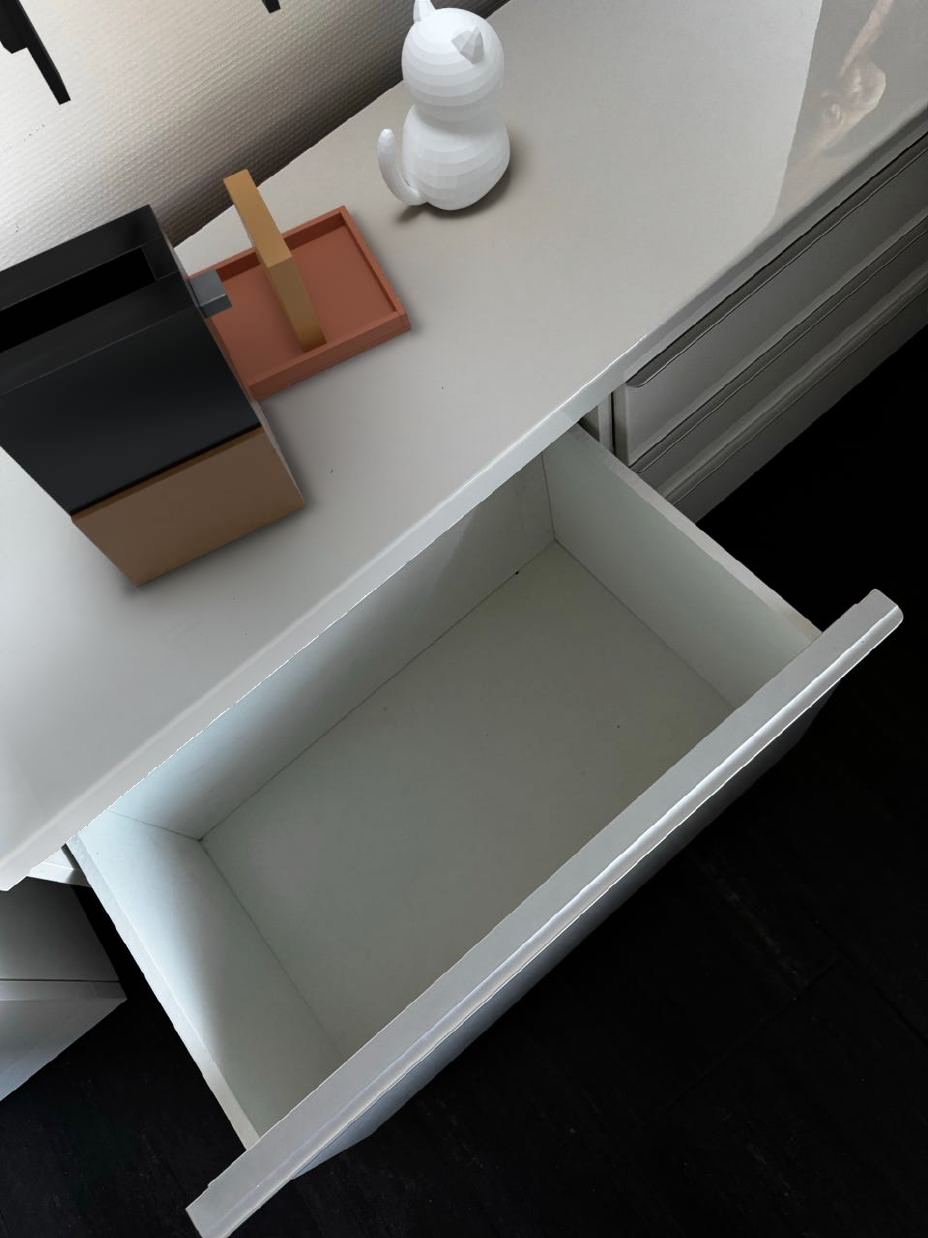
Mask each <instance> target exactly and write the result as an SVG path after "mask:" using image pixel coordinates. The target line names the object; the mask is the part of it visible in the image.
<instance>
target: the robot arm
mask: <svg viewBox="0 0 928 1238" xmlns="http://www.w3.org/2000/svg"><path fill="white" fill-rule="evenodd" d="M261 2H262V4H263V5H264V7H265V9H266V10H267V12H268V14H270V15H271V14H273V13H276V12H277V11H279V10H282V8H281V4H280V1H279V0H261ZM0 43H1V45H2V47H3V48H4V49H5V50H6V51H7V52H8V53H10V54H11V55H13V54H16V53H19V52H21V51H23V50H25V49H27V51H28V53H29V55H30V56H31V58H32V59H33V62H34V63H35V66H36V67H37V68H38V70H39V72H40V74H41V76H42V77H43V79H44V81H45V82H46V84H47V86H48V88H49V89H50V91H51V93H52V95H53V97H54V99H55V100H56V102H57V104H58V105H59V106H61V105H64V104H66V103H68V102H71V101H72V99H71V95H70V94H69V92H68V90H67V87H66V85H65V83H64V80H63V78H62V76H61V73H60V72H59V70H58V68H57V66H56V64H55V63H54V60H53V59H52V57H51V55H50V54H49V51H48V50H47V48H46V46H45V44H44V43H43V40H42V39H41V37H40V35H39V33H38V32H37V30H36V28H35V26H34V24H33V23H32V21H31V19H30V17H29V15H28V13H27V11H26V10H25V7H23V4H22V2H21V1H20V0H0Z"/></svg>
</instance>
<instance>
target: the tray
mask: <svg viewBox="0 0 928 1238" xmlns="http://www.w3.org/2000/svg"><path fill="white" fill-rule="evenodd" d="M281 235H282V237H283V239H284V241H285V243H286V245H287V247H288V249H289V251H290V252H291V254H292V256H293V259H294V261H295V264H296V266H297V269H298V271H299V274H300V276H301V279H302V281H303V284H304V286H305V289H306V291H307V294H308V296H309V299H310V301H311V304H312V306H313V309H314V311H315V313H316V316H317V318H318V321H319V323H320V326H321V328H322V331H323V333H324V336H325V338H326V341H327V343H326V344H324V345H322V346H320V347H318V348H316V349H314V350H312V351H309V352H307V353H304V351H303V349H302V347H301V345H300V343H299V341H298V339H297V337H296V335H295V333H294V331H293V329H292V327H291V325H290V323H289V321H288V319H287V317H286V315H285V313H284V311H283V309H282V307H281V305H280V303H279V301H278V299H277V297H276V295H275V293H274V291H273V289H272V287H271V285H270V283H269V281H268V279H267V277H266V275H265V273H264V271H263V269H262V266H261V264H260V262H259V260H258V258H257V255H256V253H255V251H254V249H253V246H251V247H249V248H247V249H244V250H243V251H241V252H238V253H236V254H234V255H232V256H230V257H227V258H225V259H223V260H220V261H219V262H217V263H215V264H212V265H210V266H208V267H206V268H204V269H201V270H199V271H196V272H195V273H193V274H191V275H188V276H189V278H190V279H191V278H193V277H195V276H197V275H200V274H202V273H204V272H206V271H208V270H211V269H213V268H215V270H216V272H217V274H218V276H219V278H220V280H221V282H222V284H223V286H224V288H225V290H226V292H227V294H228V296H229V298H230V300H231V303H232V305H233V307H231V308H229V309H227V310H225V311H223V312H220V313H218V314H216V315H214V316H212V317H211V318H212V320H213V322H214V324H215V326H216V328H217V329H218V330H219V332H220V334H221V336H222V338H223V340H224V341H225V343H226V345H227V347H228V349H229V351H230V352H231V354H232V356H233V358H234V360H235V362H236V364H237V365H238V367H239V369H240V371H241V373H242V375H243V376H244V378H245V380H246V382H247V384H248V386H249V387H250V389H251V391H252V393H253V395H254V397H255V398H256V400H257V402H259V401H260V400H263V399H266V398H267V397H270V396H272V395H274V394H276V393H278V392H281V391H283V390H284V389H287V388H289V387H291V386H294V385H296V384H297V383H299V382H302V381H303V380H306V379H308V378H310V377H312V376H314V375H316V374H319V373H321V372H323V371H325V370H327V369H330V368H332V367H334V366H335V365H339V364H340V363H342V362H345V361H346V360H348V359H350V358H353V357H355V356H357V355H360V354H361V353H364V352H365V351H368V350H371V349H373V348H374V347H376V346H378V345H380V344H382V343H386V342H387V341H389V340H391V339H393V338H395V337H398V336H399V335H401V334H404V333H406V332H408V331H411V330H412V327H411V324H410V323H411V322H410V319H409V317H408V313H407V310H406V309H405V307H404V305H403V304H402V302H401V300H400V299H399V296H398V295H397V293H396V292H395V290H394V288H393V287H392V285H391V283H390V281H389V280H388V278H387V276H386V274H385V273H384V271H383V269H382V268H381V266H380V263H378V260H377V259H376V257H375V256H374V254H373V252H372V251H371V249H370V246H369V245H368V243H367V242H366V240H365V238H364V236H363V235H362V233H361V231H360V230H359V228H358V226H357V224H356V223H355V221H354V219H353V218H352V215H351V214H350V212H349V211H348V209H347V208H346V206H345V205H344V204H342V205H341V206H339V207H335V208H334V209H332V210H330V211H327V212H326V213H323V214H321V215H319V216H317V217H315V218H312V219H310V220H308V221H305V222H304V223H301V224H299V225H297V226H295V227H292V228H290V229H288V230H287V231H284V232H282V233H281Z"/></svg>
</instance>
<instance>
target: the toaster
mask: <svg viewBox="0 0 928 1238" xmlns="http://www.w3.org/2000/svg"><path fill="white" fill-rule="evenodd" d="M189 276H190V275H189V274H188V272H187V270H186V269H185V267H184V265H183V263H182V261H181V260H180V258H179V255H178V254H177V252H176V250H175V249H174V247H173V245H172V243H171V241H170V240H169V237H168V236H167V234H166V232H165V230H164V228H163V226H162V225H161V223H160V221H159V219H158V217H157V215H156V213H155V211H154V210H153V208H152V207H151V204H149V203H147V204H145V205H143V206H140V207H138V208H136V209H134V210H132V211H129V212H128V213H125V214H123V215H121V216H119V217H116V218H114V219H112V220H110V221H107V222H105V223H103V224H101V225H99V226H96V227H94V228H92V229H90V230H88V231H86V232H83V233H81V234H78V235H77V236H74V237H72V238H70V239H68V240H66V241H64V242H61V243H59V244H57V245H55V246H52V247H50V248H48V249H46V250H44V251H41V252H39V253H37V254H35V255H33V256H30V257H28V258H27V259H24V260H22V261H20V262H18V263H15V264H13V265H11V266H9V267H6V268H4V269H2V270H0V448H1V449H2V450H3V451H4V452H5V453H7V455H8V456H9V457H10V458H11V459H12V460H13V461H14V462H15V463H16V464H17V465H18V466H19V467H20V468H21V469H22V470H23V471H24V472H25V473H26V474H27V475H28V476H29V477H30V478H31V479H32V480H33V481H34V482H35V483H36V484H37V485H38V486H39V487H40V488H41V489H42V490H43V491H44V492H45V493H46V494H47V495H48V496H49V497H50V498H51V499H52V500H53V501H54V502H55V503H56V504H57V505H58V506H59V507H60V508H61V509H62V510H63V511H64V512H65V513H66V514H67V515H68V516H69V517H70V520H71V523H72V524H73V525H74V526H75V527H76V528H77V529H78V530H79V531H80V532H81V533H82V534H83V536H85V537H86V538H87V539H88V540H89V541H90V542H91V543H92V544H93V545H94V546H95V547H96V548H98V550H99V551H100V552H101V553H102V554H103V555H104V556H105V557H106V558H107V559H108V560H109V561H110V562H111V563H112V564H113V565H114V566H115V567H116V568H117V569H118V570H119V571H120V572H121V573H122V574H123V575H124V576H125V577H126V578H127V579H128V580H129V581H130V582H131V583H132V584H134V586H135V587H139V586H141V585H143V584H146V583H148V582H149V581H152V580H153V579H156V578H157V577H160V576H162V575H164V574H166V573H168V572H170V571H172V570H175V569H176V568H179V567H181V566H183V565H185V564H187V563H189V562H191V561H194V560H196V559H197V558H199V557H201V556H204V555H206V554H208V553H210V552H212V551H214V550H217V549H219V548H220V547H223V546H225V545H227V544H228V543H231V542H233V541H235V540H238V539H239V538H241V537H244V536H245V535H248V534H250V533H252V532H254V531H257V530H258V529H261V528H262V527H265V526H266V525H268V524H271V523H273V522H275V521H277V520H279V519H282V518H283V517H285V516H288V515H290V514H291V513H294V512H296V511H298V510H301V509H302V508H304V507H306V506H307V504H306V502H305V499H304V497H303V495H302V493H301V490H300V489H299V487H298V484H297V483H296V480H295V478H294V476H293V474H292V472H291V469H290V468H289V467H290V466H289V465H288V463H287V461H286V459H285V457H284V454H283V452H282V450H281V448H280V445H279V444H278V442H277V439H276V438H275V435H274V432H273V431H272V429H271V427H270V424H269V422H268V420H267V418H266V416H265V414H264V412H263V410H262V408H261V406H260V404H259V401H257V400H256V398H255V397H254V395H253V393H252V391H251V389H250V387H249V386H248V384H247V382H246V380H245V378H244V376H243V375H242V373H241V371H240V369H239V367H238V365H237V364H236V362H235V360H234V358H233V356H232V354H231V352H230V351H229V349H228V347H227V345H226V343H225V341H224V340H223V338H222V336H221V334H220V332H219V330H218V329H217V328H216V326H215V324H214V322H213V320H212V318H211V317H212V316H214V315H216V314H218V313H220V312H223V311H225V310H227V309H229V308H231V307H233V305H232V303H231V300H230V298H229V296H228V294H227V292H226V290H225V288H224V286H223V284H222V282H221V280H220V278H219V276H218V274H217V272H216V270H215V268H213V269H211V270H208V271H206V272H204V273H202V274H200V275H197V276H195V277H193V278H191V279H190V278H189Z"/></svg>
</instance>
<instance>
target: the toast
mask: <svg viewBox="0 0 928 1238" xmlns="http://www.w3.org/2000/svg"><path fill="white" fill-rule="evenodd" d="M222 181H223V184H224V186H225V188H226V190H227V192H228V194H229V197H230V199H231V203H232V204H233V207H234V208H235V210H236V212H237V213H236V214H237V215H238V217H239V220H240V222H241V224H242V226H243V228H244V230H245V233H246V235H247V237H248V240H249V242H250V243H251V247H253V249H254V251H255V253H256V255H257V258H258V260H259V262H260V264H261V266H262V269H263V271H264V273H265V275H266V277H267V279H268V281H269V283H270V285H271V287H272V289H273V291H274V293H275V295H276V297H277V299H278V301H279V303H280V305H281V307H282V309H283V311H284V313H285V315H286V317H287V319H288V321H289V323H290V325H291V327H292V329H293V331H294V333H295V335H296V337H297V339H298V341H299V343H300V345H301V347H302V349H303V351H304V353H307V352H309V351H312V350H314V349H316V348H318V347H320V346H322V345H324V344H326V343H327V341H326V338H325V336H324V333H323V331H322V328H321V326H320V323H319V321H318V318H317V316H316V313H315V311H314V309H313V306H312V304H311V301H310V299H309V296H308V294H307V291H306V289H305V286H304V284H303V281H302V279H301V276H300V274H299V271H298V269H297V266H296V264H295V261H294V259H293V256H292V254H291V252H290V251H289V249H288V247H287V245H286V243H285V241H284V239H283V237H282V235H281V234H282V233H281V232H280V229H279V227H278V225H277V224H276V222H275V219H274V218H273V216H272V214H271V212H270V211H269V209H268V206H267V205H266V202H265V201H264V198H263V197H262V195H261V193H260V191H259V189H258V188H257V185H256V184H255V181H254V180H253V177H252V176H251V174H250V172H249V170H248V169H247V168H245V169H243V170H240V171H238V172H236V173H234V174H231V175H229V176H227V177H225V178H223V179H222Z"/></svg>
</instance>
